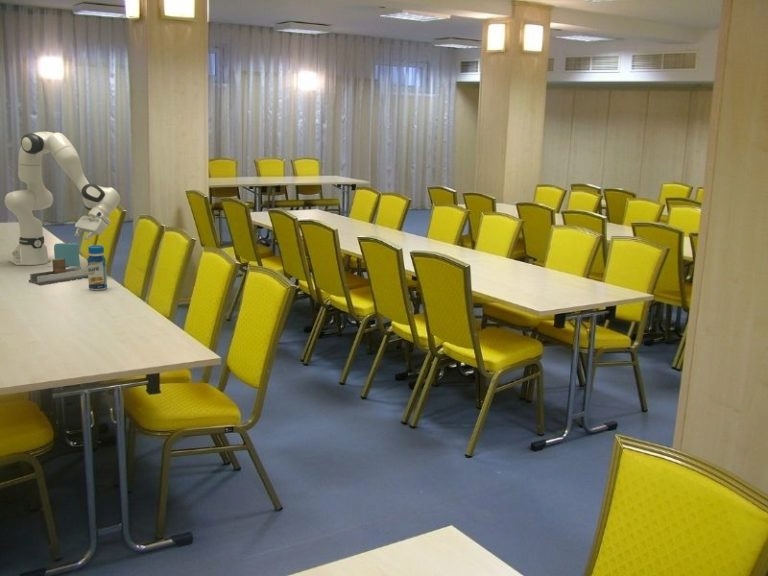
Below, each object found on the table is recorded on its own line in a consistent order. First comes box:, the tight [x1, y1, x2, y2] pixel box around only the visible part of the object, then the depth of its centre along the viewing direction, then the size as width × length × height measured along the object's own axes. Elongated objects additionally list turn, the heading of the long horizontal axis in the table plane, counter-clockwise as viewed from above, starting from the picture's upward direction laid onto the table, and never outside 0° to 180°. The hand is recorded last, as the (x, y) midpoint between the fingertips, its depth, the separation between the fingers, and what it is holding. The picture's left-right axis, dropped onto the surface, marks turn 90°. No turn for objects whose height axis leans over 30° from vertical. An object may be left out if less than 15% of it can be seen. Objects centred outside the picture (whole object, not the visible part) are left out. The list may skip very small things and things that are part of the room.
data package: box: [53, 242, 81, 268], centre depth 435 cm, size 12×4×12 cm, turn 113°
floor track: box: [28, 266, 88, 286], centre depth 403 cm, size 11×26×4 cm, turn 140°
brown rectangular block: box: [51, 258, 67, 274], centre depth 402 cm, size 3×5×9 cm, turn 140°
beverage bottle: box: [86, 244, 108, 291], centre depth 384 cm, size 8×8×20 cm
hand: (80, 238), depth 409 cm, fingers open, 8 cm apart
